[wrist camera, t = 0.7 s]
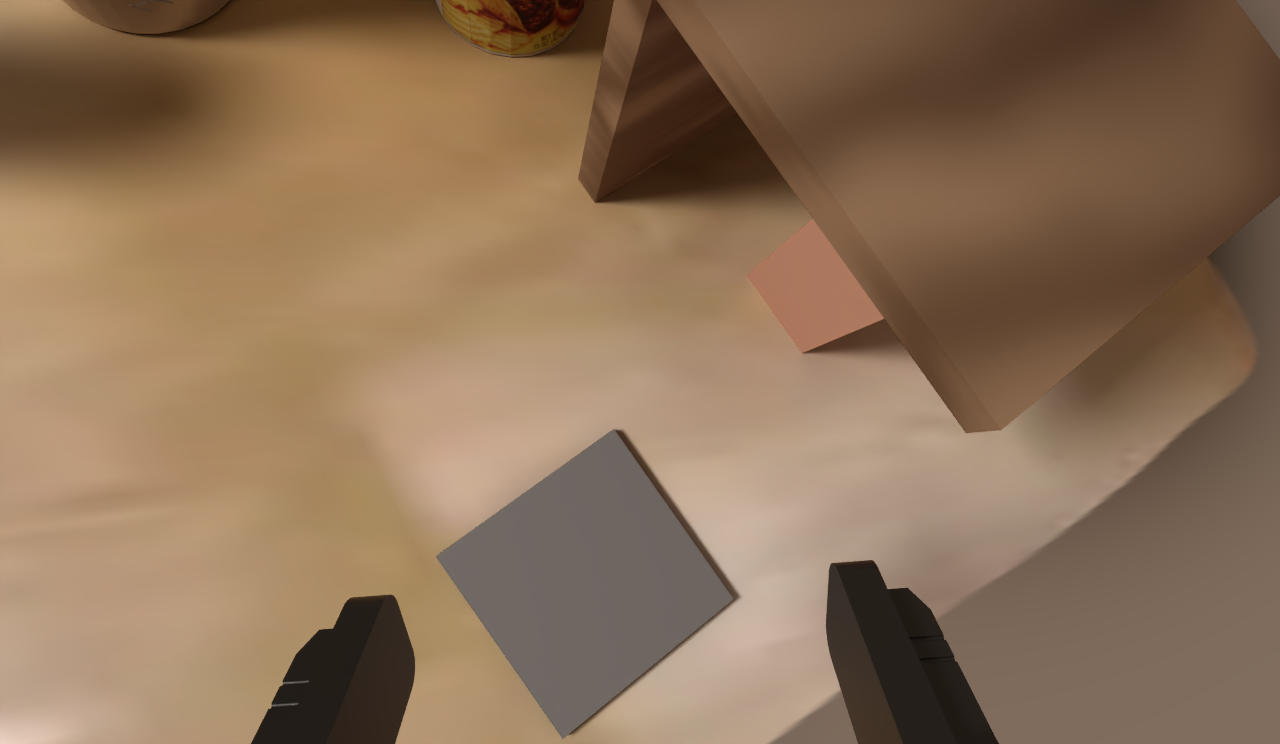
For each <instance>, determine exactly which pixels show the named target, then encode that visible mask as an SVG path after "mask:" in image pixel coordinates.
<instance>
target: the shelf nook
mask: <svg viewBox="0 0 1280 744" xmlns="http://www.w3.org/2000/svg"><path fill="white" fill-rule="evenodd" d="M736 114H738V115H739V116H740V117H741V119H742V120H743V122H744V123H745V124H746V126H747V127H748V129H749V130H750V131H751V133H752V134H753V136H754V137H755V138H756V140H757V141H758V143H759V144H760V145H761V147H762V148H763V150H764V151H765V152H766V154H767V155H768V157H769V158H770V159H771V161H772V162H773V164H774V165H775V166H776V168H777V169H778V171H779V172H780V173H781V175H782V176H783V178H784V179H785V180H786V182H787V183H788V185H789V186H790V187H791V189H792V190H793V192H794V193H795V194H796V196H797V197H798V199H799V200H800V201H801V203H802V204H803V206H804V207H805V208H806V210H807V211H808V213H809V214H810V215H811V217H812V218H813V220H814V221H815V222H816V224H817V225H818V227H819V228H820V229H821V231H822V232H823V234H824V235H825V236H826V238H827V239H828V241H829V242H830V243H831V245H832V246H833V248H834V249H835V250H836V252H837V253H838V255H839V256H840V257H841V259H842V260H843V262H844V263H845V264H846V266H847V267H848V269H849V270H850V271H851V273H852V274H853V276H854V277H855V278H856V280H857V281H858V283H859V284H860V285H861V287H862V288H863V290H864V291H865V292H866V294H867V295H868V297H869V298H870V299H871V301H872V302H873V304H874V305H875V306H876V308H877V309H878V311H879V312H880V313H881V315H882V316H883V318H884V319H885V320H886V322H887V323H888V325H889V326H890V327H891V329H892V330H893V332H894V333H895V334H896V336H897V337H898V339H899V340H900V341H901V343H902V344H903V346H904V347H905V348H906V350H907V351H908V353H909V354H910V355H911V357H912V358H913V360H914V361H915V362H916V364H917V365H918V367H919V368H920V369H921V371H922V372H923V374H924V375H925V376H926V378H927V379H928V381H929V382H930V383H931V385H932V386H933V388H934V389H935V390H936V392H937V393H938V395H939V396H940V397H941V399H942V400H943V402H944V403H945V404H946V406H947V407H948V409H949V410H950V411H951V413H952V414H953V416H954V417H955V418H956V420H957V421H958V423H959V424H960V425H961V427H962V428H963V430H964V431H965V432H966V433H972V432H984V431H995V430H1002V429H1003V428H1004V427H1005V426H1007V425H1008V424H1009V423H1010V422H1011V421H1013V420H1014V419H1015V418H1016V417H1017V416H1018V415H1020V414H1021V413H1022V412H1023V411H1024V410H1026V409H1027V408H1028V407H1029V406H1030V405H1032V404H1033V403H1034V402H1035V401H1036V400H1037V399H1039V398H1040V397H1041V396H1042V395H1043V394H1045V393H1046V392H1047V391H1048V390H1049V389H1051V388H1052V387H1053V386H1054V385H1055V384H1057V383H1058V382H1059V381H1060V380H1061V379H1062V378H1064V377H1065V376H1066V375H1067V374H1068V373H1070V372H1071V371H1072V370H1073V369H1074V368H1076V367H1077V366H1078V365H1079V364H1080V363H1081V362H1083V361H1084V360H1085V359H1086V358H1087V357H1089V356H1090V355H1091V354H1092V353H1093V352H1095V351H1096V350H1097V349H1098V348H1099V347H1101V346H1102V345H1103V344H1104V343H1105V342H1106V341H1108V340H1109V339H1110V338H1111V337H1112V336H1114V335H1115V334H1116V333H1117V332H1118V331H1120V330H1121V329H1122V328H1123V327H1124V326H1125V325H1127V324H1128V323H1129V322H1130V321H1131V320H1133V319H1134V318H1135V317H1136V316H1137V315H1139V314H1140V313H1141V312H1142V311H1143V310H1145V309H1146V308H1147V307H1148V306H1149V305H1150V304H1152V303H1153V302H1154V301H1155V300H1156V299H1158V298H1159V297H1160V296H1161V295H1162V294H1164V293H1165V292H1166V291H1167V290H1168V289H1169V288H1171V287H1172V286H1173V285H1174V284H1175V283H1177V282H1178V281H1179V280H1180V279H1181V278H1183V277H1184V276H1185V275H1186V274H1187V273H1189V272H1190V271H1191V270H1192V269H1193V268H1194V267H1196V266H1197V265H1198V264H1199V263H1200V262H1202V261H1203V260H1204V259H1205V258H1206V257H1208V256H1209V255H1210V254H1211V253H1212V252H1213V251H1215V250H1216V249H1217V248H1218V247H1219V246H1220V245H1222V244H1223V243H1224V242H1225V241H1227V240H1228V239H1229V238H1230V237H1231V236H1233V235H1234V234H1235V233H1236V232H1237V231H1238V230H1240V229H1241V228H1242V227H1243V226H1244V225H1245V224H1247V223H1248V222H1249V221H1250V220H1252V219H1253V218H1254V217H1255V216H1256V215H1257V214H1259V213H1260V212H1261V211H1262V210H1263V209H1265V208H1266V207H1267V206H1268V205H1269V204H1271V203H1272V202H1273V201H1274V200H1275V199H1277V198H1278V197H1279V196H1280V59H1279V58H1278V57H1277V56H1276V54H1275V53H1274V52H1273V50H1272V49H1271V47H1270V46H1269V45H1268V43H1267V42H1266V41H1265V39H1264V38H1263V36H1262V35H1261V34H1260V32H1259V31H1258V29H1257V28H1256V27H1255V25H1254V24H1253V23H1252V21H1251V20H1250V19H1249V17H1248V16H1247V14H1246V13H1245V12H1244V10H1243V9H1242V8H1241V6H1240V5H1239V4H1238V2H1237V1H1236V0H614V3H613V8H612V13H611V18H610V23H609V28H608V33H607V38H606V43H605V48H604V52H603V57H602V62H601V67H600V72H599V77H598V82H597V87H596V92H595V97H594V102H593V107H592V112H591V117H590V122H589V127H588V132H587V137H586V142H585V147H584V152H583V157H582V162H581V167H580V172H579V177H578V179H579V181H580V182H581V184H582V185H583V186H584V188H585V189H586V191H587V192H588V193H589V195H590V196H591V198H592V199H593V201H594V202H597V201H598V200H600V199H601V198H603V197H605V196H606V195H608V194H609V193H611V192H613V191H614V190H616V189H617V188H619V187H621V186H622V185H624V184H626V183H627V182H629V181H630V180H632V179H634V178H635V177H637V176H638V175H640V174H642V173H643V172H645V171H646V170H648V169H650V168H651V167H653V166H654V165H656V164H658V163H659V162H661V161H662V160H664V159H666V158H667V157H669V156H670V155H672V154H674V153H675V152H677V151H678V150H680V149H682V148H683V147H685V146H686V145H688V144H690V143H691V142H693V141H694V140H696V139H698V138H699V137H701V136H702V135H704V134H706V133H707V132H709V131H711V130H712V129H714V128H715V127H717V126H719V125H720V124H722V123H723V122H725V121H727V120H728V119H730V118H731V117H733V116H735V115H736Z"/></svg>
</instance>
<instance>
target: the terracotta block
mask: <svg viewBox="0 0 1280 744" xmlns="http://www.w3.org/2000/svg"><path fill="white" fill-rule="evenodd" d="M747 277H748V278H749V279H750V281H751V282H752V284H753V285H754V286H755V288H756V289H757V291H758V292H759V293H760V295H761V296H762V298H763V299H764V300H765V302H766V303H767V305H768V306H769V307H770V309H771V310H772V312H773V313H774V314H775V316H776V317H777V319H778V320H779V322H780V323H781V324H782V326H783V327H784V329H785V330H786V331H787V333H788V334H789V336H790V337H791V338H792V340H793V341H794V343H795V344H796V345H797V347H798V348H799V350H800V351H801V352H802V353H804V352H806V351H808V350H811V349H813V348H816V347H818V346H820V345H823V344H825V343H828V342H830V341H832V340H835V339H837V338H840V337H842V336H844V335H847V334H849V333H851V332H854V331H856V330H859V329H861V328H863V327H866V326H868V325H871V324H873V323H875V322H878V321H880V320H882V319H884V318H883V316H882V315H881V313H880V312H879V311H878V309H877V308H876V306H875V305H874V304H873V302H872V301H871V299H870V298H869V297H868V295H867V294H866V292H865V291H864V290H863V288H862V287H861V285H860V284H859V283H858V281H857V280H856V278H855V277H854V276H853V274H852V273H851V271H850V270H849V269H848V267H847V266H846V264H845V263H844V262H843V260H842V259H841V257H840V256H839V255H838V253H837V252H836V250H835V249H834V248H833V246H832V245H831V243H830V242H829V241H828V239H827V238H826V236H825V235H824V234H823V232H822V231H821V229H820V228H819V227H818V225H817V224H816V222H815V221H814V220H813V219H812V220H810V221H809V222H808V223H807V224H806V225H805V226H803V227H802V228H801V229H800V230H799V231H798V232H797V233H795V234H794V235H793V236H792V237H791V238H790V239H788V240H787V241H786V242H785V243H784V244H783V245H781V246H780V247H779V248H778V249H777V250H776V251H775V252H773V253H772V254H771V255H770V256H769V257H768V258H766V259H765V260H764V261H763V262H762V263H761V264H759V265H758V266H757V267H756V268H755V269H754V270H753V271H751V272H750V273H749V274H748V275H747Z"/></svg>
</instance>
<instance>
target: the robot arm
mask: <svg viewBox="0 0 1280 744" xmlns="http://www.w3.org/2000/svg"><path fill="white" fill-rule="evenodd" d="M64 1H65V2H66V3H67V4H68V5H69V6H70V7H71V8H72V9H73V10H75V11H77V12H78V13H80V14H82V15H83V16H85V17H86V18H88V19H90V20H91V21H93V22H96V23H99V24H101V25H104V26H106V27H109V28H112V29H115V30H120V31H126V32H131V33H147V34H159V33H165V32H171V31H177V30H181V29H184V28H187V27H189V26H192V25H195V24H198V23H200V22H202V21H204V20H205V19H207V18H208V17H210V16H212V15H213V14H215V13H217V12H218V11H219V10H220V9H221V8H222V7H223V6H224V5H225V4H226V3H227V2H228V1H229V0H64ZM826 632H827V641H828V647H829V651H830V656H831V659H832V662H833V666H834V669H835V672H836V675H837V678H838V681H839V685H840V688H841V691H842V694H843V697H844V700H845V703H846V707H847V710H848V713H849V716H850V719H851V722H852V725H853V729H854V732H855V735H856V738H857V741H858V744H999V743H998V741H997V740H996V738H995V736H994V734H993V732H992V730H991V728H990V726H989V724H988V722H987V720H986V718H985V716H984V714H983V712H982V710H981V708H980V706H979V704H978V703H977V700H976V698H975V696H974V694H973V692H972V690H971V688H970V686H969V684H968V682H967V680H966V678H965V676H964V675H963V672H962V671H961V669H960V667H959V665H958V663H957V662H955V659H954V655H953V653H952V651H951V649H950V647H949V645H948V643H947V641H946V640H944V637H943V633H942V631H941V629H940V627H939V625H938V623H937V621H936V619H935V617H934V615H933V613H932V611H931V609H930V608H929V607H927V606H926V605H925V604H924V603H923V602H922V601H921V600H920V599H919V598H918V597H917V596H916V595H915V594H913V593H912V592H911V591H910V590H909V589H908V588H899V589H887V587H886V585H885V583H884V580H883V578H882V576H881V574H880V571H879V569H878V567H877V565H876V564H875V562H874V561H872V560H868V561H855V562H842V563H831V565H830V568H829V582H828V598H827V615H826ZM414 675H415V657H414V652H413V648H412V645H411V642H410V639H409V636H408V633H407V630H406V627H405V624H404V621H403V618H402V615H401V612H400V609H399V606H398V603H397V600H396V598H395V597H394V596H393V595H380V596H367V597H353V598H350V599H349V600H347V602H346V603H345V605H344V607H343V609H342V611H341V613H340V615H339V617H338V619H337V622H336V624H335V626H334V628H333V629H322V630H319V631H318V632H317V633H316V634H315V635H314V636H313V637H312V638H311V639H310V640H309V641H308V642H307V643H306V644H305V645H304V646H303V648H302V649H301V650H300V651H299V652H298V653H297V654H296V656H295V658H294V660H293V662H292V664H291V666H290V668H289V670H288V672H287V673H286V675H285V677H284V679H283V685H282V686H280V687H279V689H278V691H277V693H276V695H275V697H274V699H273V701H272V707H271V709H268V711H267V713H266V715H265V717H264V719H263V721H262V723H261V725H260V727H259V729H258V731H257V733H256V735H255V737H254V739H253V741H252V743H251V744H395V742H396V739H397V735H398V732H399V729H400V726H401V722H402V719H403V716H404V713H405V710H406V706H407V703H408V700H409V697H410V693H411V690H412V687H413V682H414Z"/></svg>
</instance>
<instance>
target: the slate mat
mask: <svg viewBox="0 0 1280 744" xmlns="http://www.w3.org/2000/svg"><path fill="white" fill-rule="evenodd" d="M436 557H437V559H438V560H439V562H440V563H441V565H442V566H443V568H444V569H445V570H446V572H447V573H448V575H449V576H450V578H451V579H452V580H453V582H454V583H455V585H456V586H457V588H458V589H459V591H460V592H461V593H462V595H463V596H464V598H465V599H466V601H467V602H468V603H469V605H470V606H471V608H472V609H473V611H474V612H475V614H476V615H477V616H478V618H479V619H480V621H481V622H482V624H483V625H484V626H485V628H486V629H487V631H488V632H489V634H490V635H491V637H492V638H493V639H494V641H495V642H496V644H497V645H498V647H499V648H500V649H501V651H502V652H503V654H504V655H505V657H506V658H507V660H508V661H509V662H510V664H511V665H512V667H513V668H514V670H515V671H516V672H517V674H518V675H519V677H520V678H521V680H522V681H523V682H524V684H525V685H526V687H527V688H528V690H529V691H530V693H531V694H532V695H533V697H534V698H535V700H536V701H537V703H538V704H539V705H540V707H541V708H542V710H543V711H544V713H545V714H546V716H547V717H548V718H549V720H550V721H551V723H552V724H553V726H554V727H555V728H556V730H557V731H558V733H559V734H560V736H561V737H562V739H563V738H565V737H566V736H567V735H568V734H569V733H571V732H572V731H573V730H574V729H576V728H577V727H578V726H579V725H580V724H582V723H583V722H584V721H585V720H587V719H588V718H589V717H590V716H591V715H593V714H594V713H595V712H596V711H598V710H599V709H600V708H601V707H602V706H604V705H605V704H606V703H607V702H609V701H610V700H611V699H612V698H613V697H615V696H616V695H617V694H618V693H620V692H621V691H622V690H623V689H624V688H626V687H627V686H628V685H629V684H631V683H632V682H633V681H634V680H635V679H637V678H638V677H639V676H640V675H642V674H643V673H644V672H645V671H646V670H648V669H649V668H650V667H651V666H653V665H654V664H655V663H656V662H657V661H659V660H660V659H661V658H662V657H664V656H665V655H666V654H667V653H668V652H670V651H671V650H672V649H673V648H675V647H676V646H677V645H678V644H679V643H681V642H682V641H683V640H684V639H686V638H687V637H688V636H689V635H690V634H692V633H693V632H694V631H695V630H697V629H698V628H699V627H700V626H701V625H703V624H704V623H705V622H706V621H708V620H709V619H710V618H711V617H712V616H714V615H715V614H716V613H717V612H719V611H720V610H721V609H722V608H723V607H725V606H726V605H727V604H728V603H730V602H731V601H732V600H733V597H732V596H731V595H730V593H729V592H728V590H727V589H726V587H725V586H724V585H723V583H722V582H721V580H720V579H719V578H718V576H717V575H716V573H715V572H714V570H713V569H712V568H711V566H710V565H709V563H708V562H707V560H706V559H705V558H704V556H703V555H702V553H701V552H700V551H699V549H698V548H697V546H696V545H695V543H694V542H693V541H692V539H691V538H690V536H689V535H688V534H687V532H686V531H685V529H684V528H683V526H682V525H681V524H680V522H679V521H678V519H677V518H676V516H675V515H674V514H673V512H672V511H671V509H670V508H669V507H668V505H667V504H666V502H665V501H664V499H663V498H662V497H661V495H660V494H659V492H658V491H657V489H656V488H655V487H654V485H653V484H652V482H651V481H650V480H649V478H648V477H647V475H646V474H645V472H644V471H643V470H642V468H641V467H640V465H639V464H638V462H637V461H636V460H635V458H634V457H633V455H632V454H631V453H630V451H629V450H628V448H627V447H626V445H625V444H624V443H623V441H622V440H621V438H620V437H619V436H618V434H617V433H616V431H615V430H612V431H611V432H609V433H608V434H606V435H605V436H604V437H602V438H601V439H599V440H598V441H597V442H595V443H594V444H592V445H591V446H590V447H588V448H587V449H585V450H584V451H583V452H581V453H580V454H578V455H577V456H576V457H574V458H573V459H571V460H570V461H569V462H567V463H566V464H564V465H563V466H562V467H560V468H559V469H557V470H556V471H555V472H553V473H552V474H550V475H549V476H548V477H546V478H545V479H543V480H542V481H541V482H539V483H538V484H536V485H535V486H534V487H532V488H531V489H529V490H528V491H527V492H525V493H524V494H522V495H521V496H520V497H518V498H517V499H515V500H514V501H513V502H511V503H510V504H508V505H507V506H506V507H504V508H503V509H501V510H500V511H499V512H497V513H496V514H494V515H493V516H492V517H490V518H489V519H488V520H486V521H485V522H483V523H482V524H481V525H479V526H478V527H476V528H475V529H474V530H472V531H471V532H469V533H468V534H467V535H465V536H464V537H462V538H461V539H460V540H458V541H457V542H455V543H454V544H453V545H451V546H450V547H448V548H447V549H446V550H444V551H443V552H441V553H440V554H439V555H437V556H436Z"/></svg>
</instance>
